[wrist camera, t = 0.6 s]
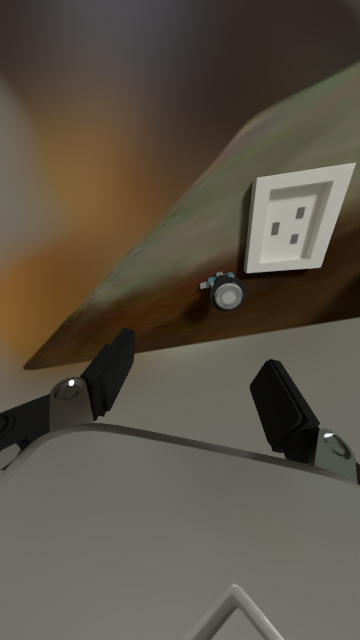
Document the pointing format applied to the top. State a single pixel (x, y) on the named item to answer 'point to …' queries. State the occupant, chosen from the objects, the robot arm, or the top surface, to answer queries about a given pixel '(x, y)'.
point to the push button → (226, 291)
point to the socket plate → (294, 218)
